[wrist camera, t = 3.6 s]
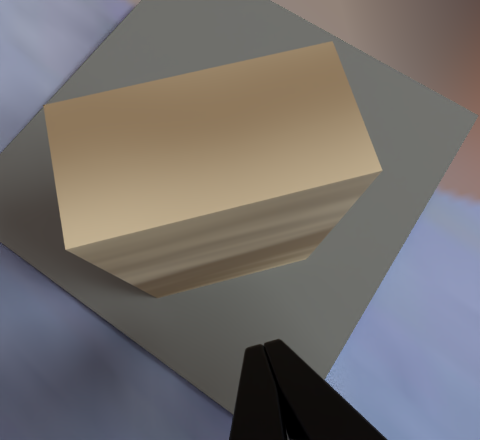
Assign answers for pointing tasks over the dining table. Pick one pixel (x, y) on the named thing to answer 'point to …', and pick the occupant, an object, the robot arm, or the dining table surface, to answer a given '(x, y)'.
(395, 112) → the rubber mat
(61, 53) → the dining table surface
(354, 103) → the maple tile
